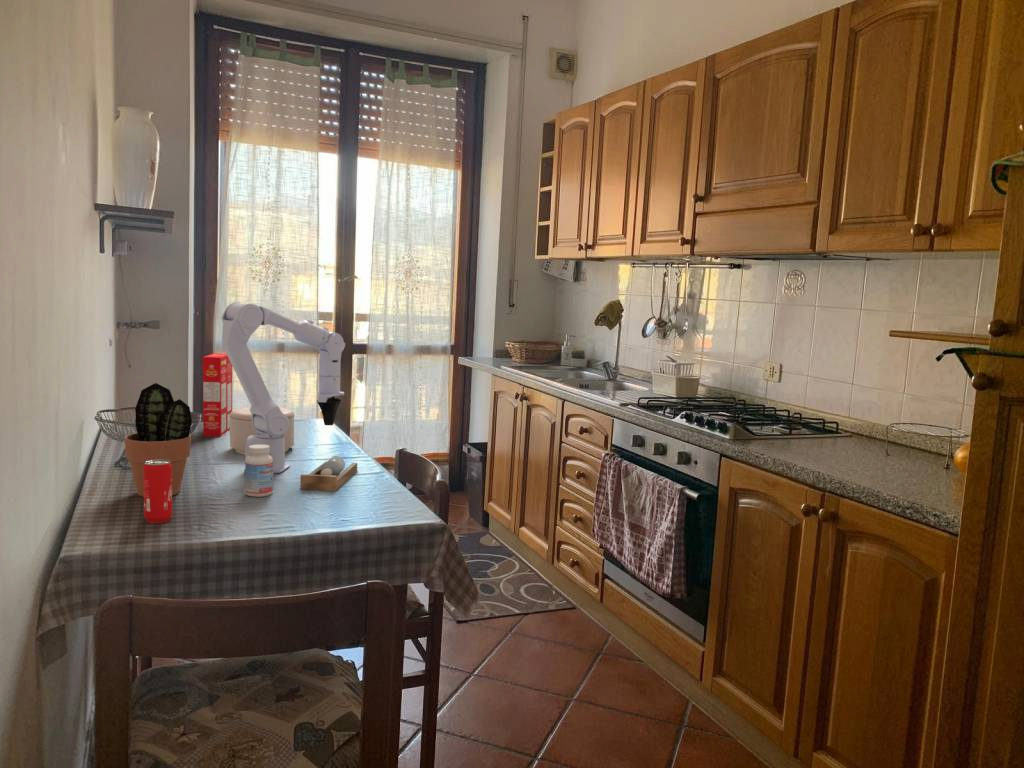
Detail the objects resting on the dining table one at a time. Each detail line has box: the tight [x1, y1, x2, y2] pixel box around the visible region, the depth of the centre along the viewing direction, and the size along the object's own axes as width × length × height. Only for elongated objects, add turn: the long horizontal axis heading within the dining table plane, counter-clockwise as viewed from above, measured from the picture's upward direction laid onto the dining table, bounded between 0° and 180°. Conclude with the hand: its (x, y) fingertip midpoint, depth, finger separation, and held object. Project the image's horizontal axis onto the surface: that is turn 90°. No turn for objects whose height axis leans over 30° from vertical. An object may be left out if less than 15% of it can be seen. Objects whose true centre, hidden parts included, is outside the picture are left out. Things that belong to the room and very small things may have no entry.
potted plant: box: [124, 382, 193, 498], centre depth 174 cm, size 14×14×25 cm
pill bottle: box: [244, 445, 274, 498], centre depth 177 cm, size 6×6×11 cm
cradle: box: [299, 460, 358, 492], centre depth 193 cm, size 8×21×4 cm, turn 178°
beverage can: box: [143, 459, 173, 524], centre depth 154 cm, size 5×5×12 cm
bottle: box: [321, 455, 346, 476], centre depth 193 cm, size 4×4×11 cm
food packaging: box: [202, 352, 233, 437], centre depth 248 cm, size 15×5×25 cm, turn 6°
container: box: [229, 406, 295, 455], centre depth 225 cm, size 18×18×12 cm
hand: (328, 424), depth 212 cm, fingers closed
